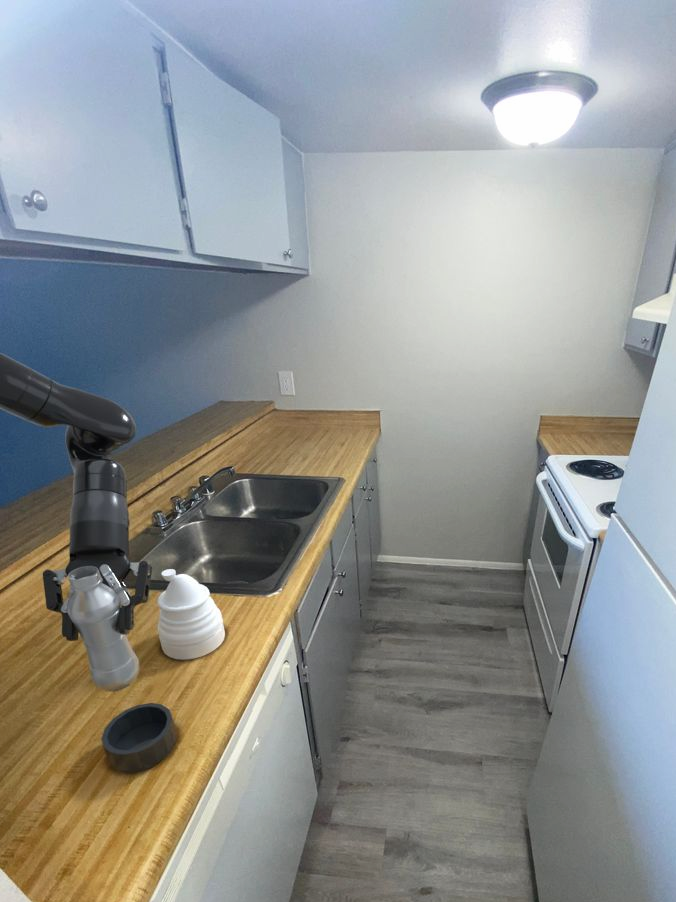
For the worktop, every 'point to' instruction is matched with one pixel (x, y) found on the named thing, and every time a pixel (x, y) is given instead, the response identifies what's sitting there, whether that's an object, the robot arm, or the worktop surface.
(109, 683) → the silver bottle
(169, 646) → the honey pot
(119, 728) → the socket
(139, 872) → the worktop surface
